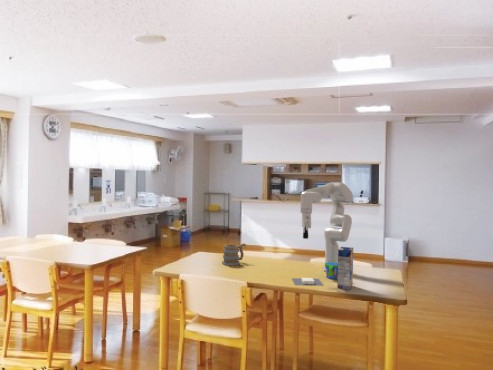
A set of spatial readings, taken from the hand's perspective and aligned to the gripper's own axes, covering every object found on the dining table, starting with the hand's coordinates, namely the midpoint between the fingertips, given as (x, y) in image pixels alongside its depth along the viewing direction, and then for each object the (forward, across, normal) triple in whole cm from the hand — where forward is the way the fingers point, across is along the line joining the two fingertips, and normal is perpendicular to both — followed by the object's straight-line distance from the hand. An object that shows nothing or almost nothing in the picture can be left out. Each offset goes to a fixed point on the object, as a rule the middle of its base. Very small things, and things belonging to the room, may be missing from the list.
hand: (305, 238), depth 265 cm
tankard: (+27, +45, +47) cm, 71 cm away
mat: (+27, -10, 0) cm, 29 cm away
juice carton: (+27, -19, -22) cm, 40 cm away
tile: (+25, -8, 0) cm, 27 cm away
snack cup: (+27, +2, -19) cm, 33 cm away
